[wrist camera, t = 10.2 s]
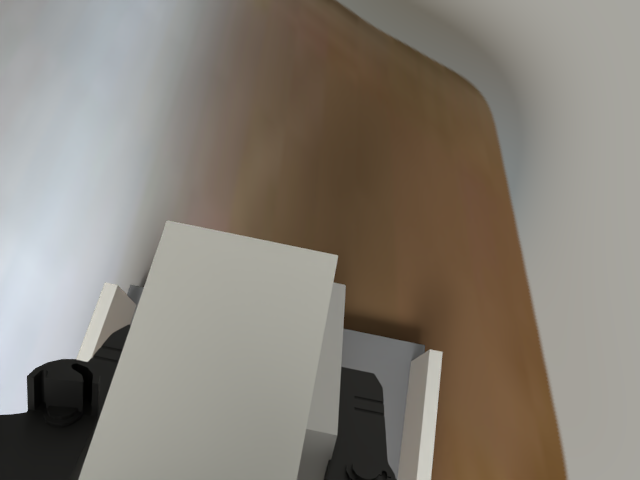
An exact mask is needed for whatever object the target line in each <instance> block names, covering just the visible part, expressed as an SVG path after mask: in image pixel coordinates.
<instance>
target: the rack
mask: <svg viewBox="0 0 640 480" xmlns="http://www.w3.org/2000/svg"><path fill="white" fill-rule="evenodd" d="M143 289H144V287H139V286H134V285H130V288H129V291H128V294H127V295H126V293H125V292H124V291H123V290H122V289H121V288H120V287H119V286H118V285H114V284H110V283H105V284H104V286H103V289H102V292H101V294H100V297H99V300H98V302H97V305H96V308H95V310H94V313H93V316H92V318H91V321H90V324H89V326H88V329H87V332H86V334H85V337H84V340H83V342H82V345H81V348H80V350H79V353H78V356H77V358H76V359H77V360H81V361H85V362H88V361H89V360H90V359H91V358H93V355H94V354H95V353H96V352H97V350H98V349H99V348H101V346H102V344H103V343H104V342H105V341H106V340H107V338H108V337H109V336H110V335H111V334H112V333H113V332H115V331H117V330H119V329H121V328H123V327H125V326H126V325H128V324H129V325H131V324H132V321H133V318H134V315H135V312H136V309H137V306H138V303H139V300H140V298H141V295H142V292H143ZM424 351H425V345H421V344H416V343H411V342H406V341H401V340H397V339H392V338H387V337H382V336H377V335H372V334H367V333H363V332H358V331H353V330H348V329H343V344H342V362H341V367H345V368H350V369H355V370H360V371H365V372H370V373H374V374H375V376H376V377H377V379H378V380H379V382H380V384H381V385H382V387H383V399H384V402H383V404H384V416H385V429H386V444H387V459H388V464H389V465H390V467H391V469H392V470H393V472H394V474H395V478H396V479H397V480H431V473H432V462H433V451H434V440H435V429H436V418H437V407H438V396H439V386H440V375H441V364H442V353H443V352H440V351H435V350H428V351H427V352H425V353H424Z"/></svg>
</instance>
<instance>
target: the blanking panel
mask: <svg viewBox="0 0 640 480" xmlns="http://www.w3.org/2000/svg"><path fill="white" fill-rule="evenodd" d="M337 260H338V255H334V254H329V253H324V252H319V251H314V250H309V249H305V248H300V247H295V246H290V245H285V244H280V243H275V242H271V241H266V240H261V239H256V238H251V237H246V236H241V235H236V234H232V233H227V232H222V231H217V230H212V229H207V228H202V227H197V226H193V225H188V224H183V223H178V222H173V221H168V220H167V222H166V224H165V227H164V230H163V233H162V236H161V239H160V242H159V245H158V248H157V251H156V254H155V257H154V260H153V262H152V265H151V268H150V271H149V274H148V277H147V280H146V283H145V286H144V289H143V292H142V295H141V298H140V300H139V303H138V306H137V309H136V312H135V315H134V318H133V321H132V324H131V327H130V330H129V333H128V336H127V338H126V341H125V344H124V347H123V350H122V353H121V356H120V359H119V362H118V365H117V368H116V371H115V374H114V376H113V379H112V382H111V385H110V388H109V391H108V394H107V397H106V400H105V403H104V406H103V409H102V412H101V414H100V417H99V420H98V423H97V426H96V429H95V432H94V435H93V438H92V441H91V444H90V447H89V450H88V452H87V455H86V458H85V461H84V464H83V467H82V470H81V473H80V476H79V479H78V480H297V475H298V470H299V465H300V459H301V454H302V448H303V443H304V438H305V432H306V427H307V421H308V416H309V411H310V405H311V400H312V395H313V389H314V384H315V378H316V373H317V368H318V362H319V357H320V351H321V346H322V341H323V335H324V330H325V325H326V319H327V314H328V308H329V303H330V298H331V292H332V287H333V282H334V276H335V271H336V265H337Z"/></svg>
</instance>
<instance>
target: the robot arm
mask: <svg viewBox="0 0 640 480" xmlns="http://www.w3.org/2000/svg"><path fill="white" fill-rule="evenodd" d="M345 290H346V285H343V284H338V283H333V287H332V292H331V298H330V303H329V308H328V314H327V319H326V325H325V330H324V335H323V341H322V346H321V351H320V357H319V362H318V368H317V373H316V378H315V384H314V389H313V395H312V400H311V405H310V411H309V416H308V421H307V427H306V432H305V438H304V443H303V448H302V454H301V459H300V465H299V470H298V475H297V480H397V479H396V478H395V474H394V472H393V470H392V469H391V467H390V465H389V464H388V459H387V444H386V429H385V416H384V404H383V402H384V399H383V387H382V385H381V384H380V382H379V380H378V379H377V377H376V376H375V374H374V373H370V372H365V371H360V370H355V369H350V368H345V367H341V362H342V344H343V326H344V308H345ZM130 327H131V325H129V324H128V325H126V326H125V327H123V328H121V329H119V330H117V331H115V332H113V333H112V334H111V335H110V336H109V337H108V338H107V340H106V341H105V342H104V343H103V344H102V346H101V348H99V349H98V350H97V352H96V353H95V354H94V355H93V358H91V359H90V360H89V361H88V362H85V361H81V360H77V359H61V360H57V361H52V362H48V363H46V364H44V365H42V366H39V367H37V368H35V369H34V370H33V371H32V372H31V373H30V374H29V375H28V376H27V393H28V411H27V412H26V413H20V414H11V415H0V480H78V479H79V476H80V473H81V470H82V467H83V464H84V461H85V458H86V455H87V452H88V450H89V447H90V444H91V441H92V438H93V435H94V432H95V429H96V426H97V423H98V420H99V417H100V414H101V412H102V409H103V406H104V403H105V400H106V397H107V394H108V391H109V388H110V385H111V382H112V379H113V376H114V374H115V371H116V368H117V365H118V362H119V359H120V356H121V353H122V350H123V347H124V344H125V341H126V338H127V336H128V333H129V330H130Z"/></svg>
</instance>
